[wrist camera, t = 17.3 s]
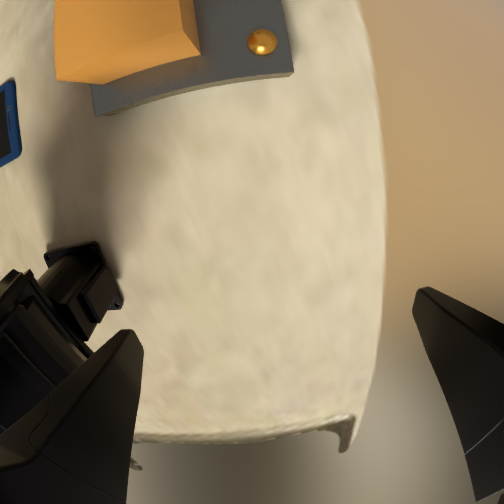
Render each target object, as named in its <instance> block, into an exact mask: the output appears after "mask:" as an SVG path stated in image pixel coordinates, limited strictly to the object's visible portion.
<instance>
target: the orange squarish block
mask: <svg viewBox="0 0 504 504" xmlns="http://www.w3.org/2000/svg"><path fill="white" fill-rule="evenodd" d="M54 54H55V70H56V80H59V81H73V82H83V83H92V84H101V85H103V84H106V83H108V82H111V81H113V80H116V79H119V78H121V77H124V76H127V75H130V74H133V73H135V72H138V71H142V70H145V69H148V68H151V67H154V66H158V65H161V64H165V63H169V62H172V61H176V60H180V59H184V58H189V57H193V56H198V55H201V52H200V45H199V39H198V32H197V25H196V18H195V11H194V4H193V0H55V10H54Z"/></svg>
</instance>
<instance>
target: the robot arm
mask: <svg viewBox="0 0 504 504" xmlns="http://www.w3.org/2000/svg"><path fill="white" fill-rule="evenodd" d="M92 246H93V247H94V248H95V250H94V249H93V248H92ZM48 256H49V257H48ZM44 259H45V262H46V264H47V266H48V268H49V269H48V270H47V271H46V272H45V273H44V274H43V275H42V276H41V277H40V278H39V279H38V280H37V281H36V279H35V278H34V274H33V273H32V271H31V270H30V269H29V270H27V271H26V272H25V273H22V272H18V271H16V270H14V269H12V270H11V271H10V272H9V273H8V274H7V275H6V276H5V277H4V278H3V279H2V280H1V281H0V504H126V497H127V486H128V475H129V466H130V458H131V450H132V442H133V435H134V429H135V422H136V416H137V410H138V404H139V398H140V391H141V380H142V368H143V357H144V350H143V346H142V345H141V343H140V341H139V339H138V337H137V335H136V333H135V332H134V331H133V330H132V329H122V330H120V331H119V332H117V333H116V334H115V335H114V336H113V337H112V338H111V339H109V340H108V341H107V342H106V343H105V344H104V345H103V346H102V347H100V348H99V349H98V350H97V351H96V352H95V353H94V352H93V351H92V350H91V349H90V348H89V347H88V346H87V345H86V343H85V342H84V341H88V340H89V338H90V336H91V334H92V333H93V331H94V329H95V327H96V325H97V323H101V321H102V319H103V317H104V315H105V314H106V312H107V310H119V309H121V308H122V306H123V301H122V299H121V297H120V295H119V292H118V289H117V287H116V285H115V282H114V280H113V278H112V275H111V273H110V271H109V268H108V266H107V264H106V262H105V259H104V257H103V254H102V252H101V249H100V246H99V244H98V243H97V242H95V241H91V242H86V243H81V244H77V245H72V246H68V247H63V248H59V249H55V250H50V251H47V252H46V253H45V254H44ZM117 303H118V304H119V305H118V304H117ZM412 313H413V317H414V320H415V323H416V325H417V328H418V330H419V333H420V336H421V339H422V342H423V345H424V347H425V350H426V353H427V355H428V358H429V360H430V362H431V364H432V367H433V369H434V371H435V374H436V376H437V378H438V381H439V383H440V386H441V388H442V390H443V393H444V395H445V398H446V401H447V403H448V406H449V409H450V411H451V414H452V416H453V420H454V422H455V425H456V428H457V431H458V434H459V437H460V440H461V444H462V447H463V451H464V454H465V458H466V462H467V465H468V469H469V473H470V477H471V482H472V486H473V491H474V495H475V499H476V502H478V501H480V500H483V499H484V498H487V497H489V496H491V495H493V494H495V493H497V492H498V491H500V490H502V489H504V324H503V323H500V322H499V321H497V320H495V319H493V318H491V317H489V316H487V315H486V314H484V313H482V312H480V311H478V310H476V309H474V308H472V307H470V306H468V305H466V304H464V303H462V302H460V301H458V300H456V299H454V298H452V297H450V296H448V295H446V294H444V293H441V292H440V291H437V290H435V289H433V288H431V287H423V288H420V289H418V290H417V292H416V295H415V300H414V304H413V308H412ZM498 504H504V493H503V494H502V495H501V496H500V499H499V502H498Z"/></svg>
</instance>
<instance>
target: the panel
mask: <svg viewBox="0 0 504 504" xmlns="http://www.w3.org/2000/svg"><path fill="white" fill-rule="evenodd" d="M193 4H194V11H195V18H196V25H197V32H198V39H199V45H200V52H201V55H198V56H193V57H189V58H184V59H180V60H176V61H172V62H169V63H165V64H161V65H158V66H154V67H151V68H148V69H145V70H142V71H138V72H135V73H133V74H130V75H127V76H124V77H121V78H119V79H116V80H113V81H111V82H108V83H106V84H103V85H101V84H92V83H90V85H91V93H92V99H93V105H94V111H95V117H96V116H108V115H112V114H115V113H117V112H120V111H123V110H126V109H129V108H132V107H135V106H138V105H141V104H145V103H148V102H151V101H155V100H158V99H162V98H165V97H169V96H173V95H177V94H181V93H185V92H190V91H194V90H199V89H204V88H209V87H214V86H219V85H225V84H231V83H237V82H244V81H252V80H260V79H269V78H280V77H289V76H290V75H291V74H293V73H294V68H293V62H292V56H291V51H290V45H289V40H288V34H287V29H286V24H285V19H284V14H283V10H282V5H281V1H280V0H193Z"/></svg>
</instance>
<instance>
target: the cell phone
mask: <svg viewBox="0 0 504 504" xmlns="http://www.w3.org/2000/svg"><path fill="white" fill-rule="evenodd" d="M21 152H22V143H21V136H20V129H19V121H18V111H17V99H16V85H15V82H14V81H13V80H12V81H8V82H7V83H5V84H4V85H2V86H1V87H0V167H2V166H4V165H5V164H7V163H9V162H11V161H13V160H14V159H16V158H18V157H19V156H20V155H21Z"/></svg>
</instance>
